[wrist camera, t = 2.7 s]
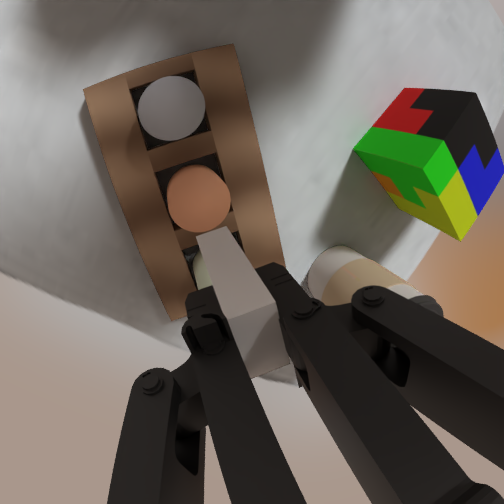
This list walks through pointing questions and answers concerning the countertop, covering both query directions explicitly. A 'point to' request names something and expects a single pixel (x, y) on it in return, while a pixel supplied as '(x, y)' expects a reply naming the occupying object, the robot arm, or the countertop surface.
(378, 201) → the countertop surface
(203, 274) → the button sage
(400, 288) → the coffee cup
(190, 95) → the button grey
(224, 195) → the button terracotta
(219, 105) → the button board
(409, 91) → the puzzle toy
